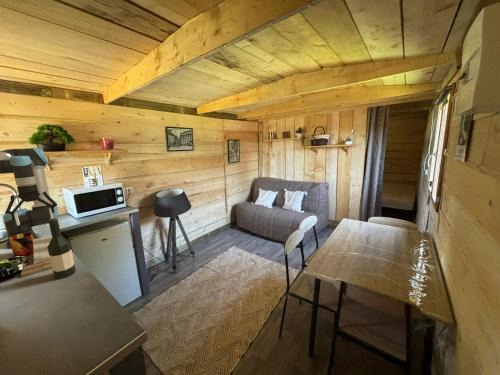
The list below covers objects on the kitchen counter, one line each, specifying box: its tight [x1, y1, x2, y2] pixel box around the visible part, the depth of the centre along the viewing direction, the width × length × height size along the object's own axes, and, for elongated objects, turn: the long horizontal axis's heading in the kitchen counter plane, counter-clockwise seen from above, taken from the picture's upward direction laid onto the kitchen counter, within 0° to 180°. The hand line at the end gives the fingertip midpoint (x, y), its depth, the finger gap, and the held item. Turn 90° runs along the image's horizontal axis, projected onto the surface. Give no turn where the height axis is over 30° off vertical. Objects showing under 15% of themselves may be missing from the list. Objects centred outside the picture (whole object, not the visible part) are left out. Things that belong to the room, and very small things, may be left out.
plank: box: [33, 235, 52, 264], centre depth 124 cm, size 18×8×2 cm, turn 42°
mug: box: [9, 233, 34, 257], centre depth 129 cm, size 10×14×12 cm
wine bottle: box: [47, 218, 77, 280], centre depth 105 cm, size 8×8×30 cm
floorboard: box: [20, 260, 53, 278], centre depth 115 cm, size 11×16×2 cm
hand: (36, 221), depth 119 cm, fingers open, 13 cm apart
